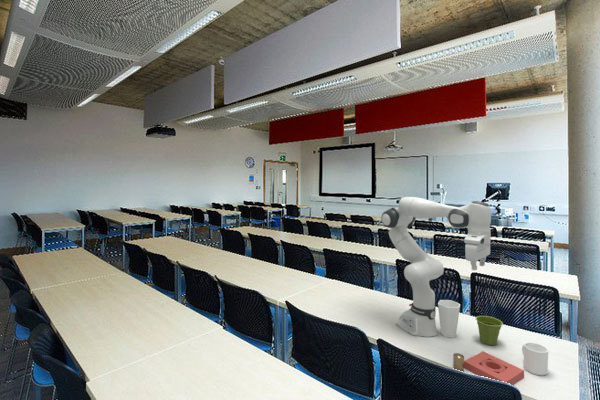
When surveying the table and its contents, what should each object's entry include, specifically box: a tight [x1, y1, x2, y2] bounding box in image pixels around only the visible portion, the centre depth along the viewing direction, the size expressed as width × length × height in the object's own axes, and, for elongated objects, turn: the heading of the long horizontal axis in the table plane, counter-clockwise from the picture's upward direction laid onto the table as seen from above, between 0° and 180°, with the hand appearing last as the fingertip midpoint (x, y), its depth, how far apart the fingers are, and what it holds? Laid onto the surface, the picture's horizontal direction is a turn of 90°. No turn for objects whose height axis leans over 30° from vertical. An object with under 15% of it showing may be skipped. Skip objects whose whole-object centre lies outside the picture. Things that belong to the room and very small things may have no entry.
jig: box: [464, 351, 525, 386], centre depth 133 cm, size 17×15×3 cm
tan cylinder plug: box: [452, 352, 465, 373], centre depth 134 cm, size 4×4×7 cm
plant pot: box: [475, 315, 504, 346], centre depth 157 cm, size 12×12×11 cm
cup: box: [437, 299, 461, 339], centre depth 165 cm, size 11×10×17 cm
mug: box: [521, 342, 549, 376], centre depth 136 cm, size 12×8×10 cm
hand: (478, 267), depth 140 cm, fingers open, 8 cm apart
